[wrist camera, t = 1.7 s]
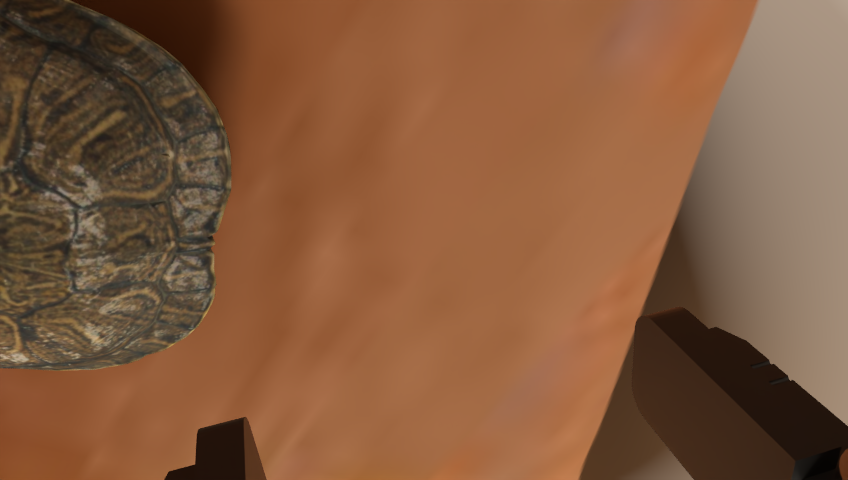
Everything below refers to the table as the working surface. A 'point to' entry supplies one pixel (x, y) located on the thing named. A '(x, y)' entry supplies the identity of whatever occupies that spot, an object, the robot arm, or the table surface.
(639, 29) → the table surface
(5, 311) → the turtle shell
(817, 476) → the robot arm
